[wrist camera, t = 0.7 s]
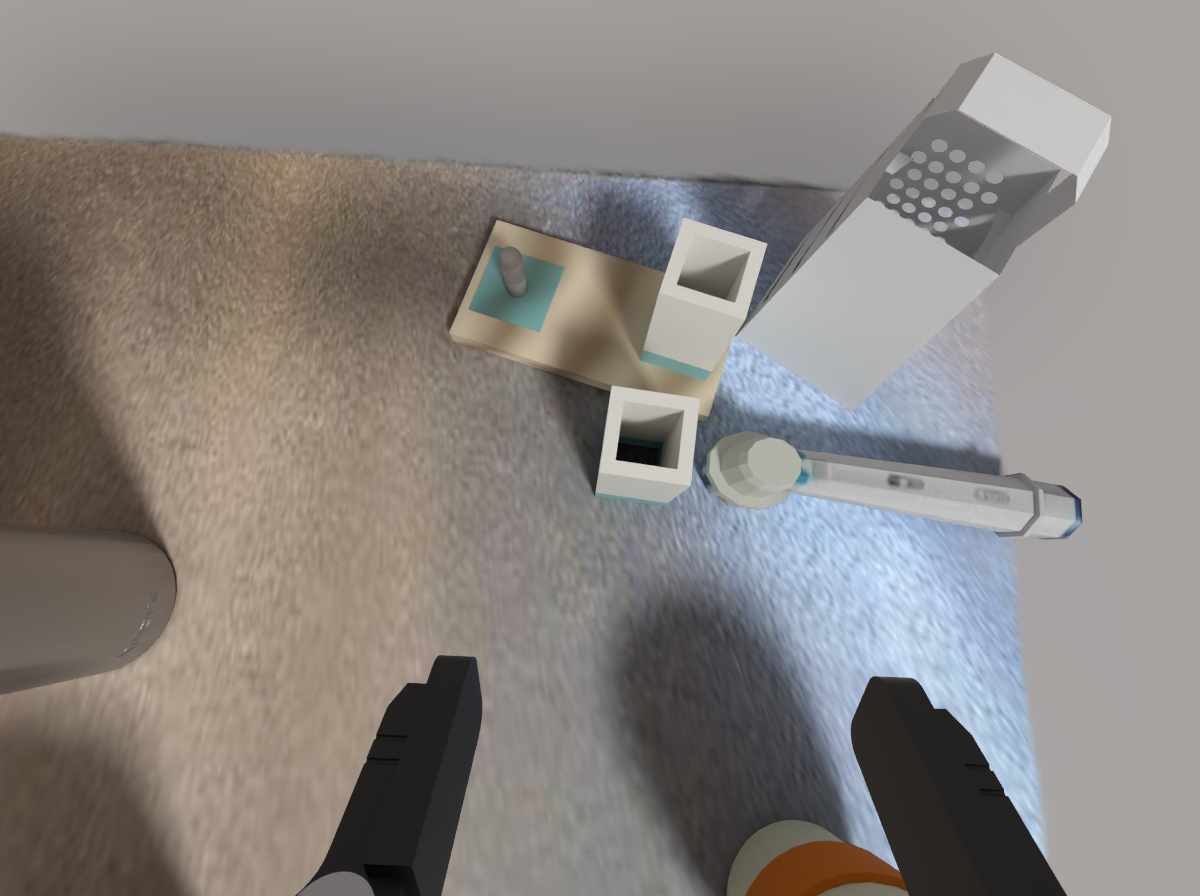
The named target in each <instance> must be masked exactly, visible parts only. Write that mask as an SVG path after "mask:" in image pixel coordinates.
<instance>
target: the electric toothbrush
mask: <svg viewBox="0 0 1200 896" xmlns="http://www.w3.org/2000/svg"><path fill="white" fill-rule="evenodd" d="M701 478H702V479H703V481H704V483H705V485H706V487H707V489H708V491H709V493H713V494H714V495H715V496H717V497H718V498H720V499H721V500H723V501H724V502H726V504H727V505H734V506H737V507H743V508H750V509H756V510H760V509H764V508H767V507H770V506H773V505H776V504H779V503H782V502H784V500H785V499H786V498H787V497H788V495H789V494H790V493H794V494H799V495H804V496H810V497H815V498H820V499H826V500H831V501H836V502H842V503H847V504H852V505H858V506H863V507H868V508H873V509H879V510H884V511H889V512H895V513H900V514H905V515H911V516H916V517H921V518H927V519H932V520H937V521H943V522H948V523H953V524H959V525H964V526H969V527H975V528H980V529H985V530H991V531H994V532H995V533H996V534H997V535H998V536H999V537H1001V538H1013V537H1033V538H1039V539H1046V540H1047V539H1067V538H1068V537H1069V536H1070V535H1071V534H1072V533H1073V532H1074V531H1075V530H1076V528H1077V527H1078V526H1079V525H1080V524H1081V523H1082V511H1081V499H1079V498H1078V497H1077V496H1076V495H1074V494H1073V493H1072V492H1070V491H1069V490H1068V489H1067V488H1066V487H1064V486H1060V485H1055V484H1049V483H1043V482H1037V481H1032V480H1031V479H1030V478H1028V477H1027V476H1026V475H1025V474H1022V473H1018V474H1012V475H1006V476H998V475H991V474H983V473H975V472H968V471H960V470H952V469H945V468H937V467H930V466H922V465H914V464H907V463H899V462H891V461H884V460H876V459H869V458H861V457H853V456H846V455H838V454H830V453H823V452H815V451H808V450H800V449H795V448H794V447H792V446H791V445H789V444H788V443H786V442H785V441H784V440H781V439H779V438H773V437H770V436H769V435H767V434H761V433H756V432H750V431H742V432H738V433H735V434H732V435H729V436H725V437H723V438H721V439H720V440H719V441H718V442H717V443H716V444H715V446H714V447H713V448H712V449H711V450H710V451H709V453H708V454H707V457H706V458H705V459H704V460H703V466H702V477H701Z"/></svg>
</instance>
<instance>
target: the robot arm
mask: <svg viewBox="0 0 1200 896" xmlns="http://www.w3.org/2000/svg"><path fill="white" fill-rule="evenodd" d="M175 595H176V588H175V577H174V573H173V569H172V566H171V564H170V562H169V560H168V559H167V557H166V555H165V554H164V552H163V551H162V550H161V549H160V548H159V547H158V546H157V545H156V544H154V543H153V542H151V541H150V540H148V539H146V538H145V537H142V536H139V535H136V534H133V533H127V532H117V531H105V530H93V529H80V528H71V527H58V526H45V525H32V524H19V523H7V522H0V695H4V694H9V693H13V692H18V691H22V690H27V689H32V688H36V687H41V686H46V685H51V684H55V683H60V682H64V681H69V680H73V679H78V678H83V677H87V676H92V675H96V674H101V673H105V672H108V671H112V670H115V669H118V668H121V667H123V666H125V665H126V664H128V663H130V662H132V661H134V660H136V659H137V658H138V657H139V656H141V655H142V654H143V653H144V652H146V651H147V650H148V649H149V648H150V647H151V646H152V645H153V643H154V642H155V641H156V640H157V639H158V638H159V636H160V635H161V633H162V632H163V630H164V628H165V627H166V625H167V623H168V621H169V618H170V616H171V613H172V610H173V607H174V601H175ZM481 719H482V697H481V690H480V682H479V674H478V667H477V660H476V658H475V657H466V656H444V655H439V656H438V657H437V658H436V660H435V662H434V664H433V667H432V670H431V672H430V675H429V678H428V681H427V684H420V683H407V685H406V686H405V687H404V688H403V689H402V690H401V692H400V693H399V694H398V695H397V696H396V697H395V699H394V700H393V701H392V702H391V703H390V704H389V706H388V707H387V710H386V712H385V714H384V717H383V719H382V722H381V724H380V727H379V729H378V732H377V734H376V739H375V740H374V741H373V744H372V746H371V749H370V751H369V754H368V756H367V761H366V764H365V763H364V766H363V768H362V771H361V773H360V776H359V778H358V780H357V783H356V785H355V788H354V790H353V793H352V795H351V798H350V800H349V802H348V805H347V807H346V810H345V812H344V815H343V817H342V820H341V822H340V824H339V827H338V829H337V832H336V834H335V837H334V839H333V842H332V844H331V846H330V849H329V851H328V854H327V856H326V858H325V860H324V862H323V863H322V865H321V867H320V868H319V870H318V872H317V873H316V874H315V876H314V877H313V878H312V879H311V881H310V882H309V883H308V884H307V885H306V886H305V887H304V888H303V889H302V890H301V891H300V892H299V893H298V894H297V895H296V896H441V894H442V890H443V885H444V881H445V877H446V873H447V868H448V864H449V860H450V856H451V851H452V847H453V843H454V839H455V834H456V830H457V826H458V822H459V818H460V813H461V809H462V805H463V801H464V796H465V792H466V788H467V784H468V779H469V775H470V771H471V767H472V763H473V758H474V754H475V750H476V746H477V741H478V737H479V732H480V727H481ZM851 739H852V745H853V750H854V753H855V756H856V759H857V761H858V764H859V766H860V769H861V772H862V774H863V777H864V779H865V782H866V785H867V787H868V790H869V792H870V795H871V798H872V800H873V803H874V805H875V808H876V811H877V813H878V816H879V819H880V821H881V824H882V826H883V829H884V832H885V834H886V837H887V839H888V842H889V845H890V847H891V850H892V852H893V855H894V858H895V860H896V863H897V866H898V868H899V871H900V873H901V876H902V879H903V881H904V884H905V886H906V889H907V892H908V894H909V896H1067V895H1066V893H1065V892H1064V890H1063V888H1062V887H1061V885H1060V883H1059V882H1058V880H1057V878H1056V877H1055V875H1054V873H1053V871H1052V870H1051V868H1050V866H1049V865H1048V863H1047V861H1046V860H1045V858H1044V856H1043V855H1042V853H1041V851H1040V850H1039V848H1038V846H1037V844H1036V843H1035V841H1034V839H1033V838H1032V836H1031V834H1030V833H1029V831H1028V829H1027V828H1026V826H1025V824H1024V823H1023V821H1022V819H1021V817H1020V816H1019V814H1018V812H1017V811H1016V809H1015V807H1014V806H1013V804H1012V802H1011V801H1010V799H1009V797H1008V796H1005V794H1004V789H1003V787H1002V785H1001V784H1000V782H999V780H998V779H997V777H996V775H995V774H994V772H993V771H991V770H990V768H989V763H988V762H987V760H986V758H985V757H984V755H983V753H982V752H981V750H980V748H979V746H978V745H977V743H976V741H975V740H974V738H973V736H972V735H971V734H970V733H969V732H968V731H967V730H966V729H965V728H964V727H963V726H962V725H961V724H960V723H959V722H958V721H957V720H956V719H955V718H954V717H953V716H952V715H951V714H950V713H949V712H948V711H947V710H946V709H934V707H933V706H932V704H931V702H930V700H929V698H928V697H927V695H926V693H925V691H924V689H923V688H922V686H921V685H920V684H919V682H917V681H916V680H915V679H913V678H899V677H877V676H875V677H872V678H871V679H870V680H869V682H868V685H867V687H866V689H865V692H864V694H863V696H862V699H861V701H860V703H859V706H858V708H857V710H856V713H855V715H854V717H853V720H852V724H851Z"/></svg>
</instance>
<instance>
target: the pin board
mask: <svg viewBox="0 0 1200 896" xmlns="http://www.w3.org/2000/svg"><path fill="white" fill-rule="evenodd" d="M664 276H665V272H662V271H659V270H656V269H652V268H649V267H646V266H643V265H640V264H637V263H633V262H630V261H627V260H624V259H621V258H617V257H614V256H611V255H608V254H605V253H601V252H598V251H595V250H592V249H589V248H585V247H582V246H579V245H576V244H573V243H569V242H566V241H563V240H560V239H557V238H553V237H550V236H547V235H544V234H541V233H538V232H534V231H531V230H528V229H525V228H522V227H518V226H515V225H512V224H509V223H506V222H502V221H499V220H497V221H496V223H495V226H494V228H493V231H492V233H491V235H490V238H489V240H488V242H487V245H486V247H485V249H484V252H483V254H482V256H481V259H480V261H479V263H478V266H477V268H476V271H475V273H474V275H473V278H472V280H471V282H470V285H469V287H468V289H467V292H466V294H465V296H464V299H463V301H462V304H461V306H460V308H459V311H458V313H457V315H456V318H455V320H454V322H453V325H452V327H451V329H450V332H449V334H450V335H451V337H452V339H453V341H455V342H458V343H461V344H464V345H467V346H470V347H473V348H476V349H479V350H483V351H486V352H489V353H492V354H495V355H498V356H501V357H504V358H507V359H510V360H513V361H517V362H520V363H523V364H526V365H529V366H532V367H535V368H538V369H541V370H544V371H547V372H551V373H554V374H557V375H560V376H563V377H566V378H569V379H572V380H575V381H578V382H581V383H585V384H588V385H591V386H594V387H597V388H600V389H603V390H606V391H609V392H611V387H612V386H619V387H625V388H632V389H639V390H646V391H653V392H659V393H666V394H673V395H680V396H686V397H693V398H700V402H699V412H698V420H699V421H702V422H705V421H706V419H707V418H708V417H709V414H710V411H711V408H712V404H713V401H714V397H715V394H716V391H717V387H718V384H719V380H720V377H721V374H722V370H723V367H724V363H725V360H726V357H727V353H728V350H729V346H730V344H729V346H728V347H727V349H726V350H725V352H724V353H723V355H722V356H721V358H720V359H719V361H718V362H717V364H716V365H715V367H714V368H713V370H712V371H711V373H710V374H709V376H708V377H707V379H706V380H705V381H702V380H699V379H696V378H693V377H690V376H687V375H683V374H680V373H677V372H674V371H671V370H668V369H665V368H662V367H658V366H655V365H652V364H649V363H646V362H643V361H640V359H641V355H642V352H643V348H644V344H645V341H646V337H647V334H648V330H649V326H650V323H651V319H652V315H653V312H654V308H655V305H656V301H657V297H658V294H659V291H660V288H661V285H662V282H663V279H664ZM730 343H731V342H730Z"/></svg>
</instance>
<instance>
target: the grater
mask: <svg viewBox="0 0 1200 896" xmlns="http://www.w3.org/2000/svg"><path fill="white" fill-rule="evenodd" d="M958 109H959V110H961V111H962V112H964V113H966V114H968V115H970V116H971V117H973V118H975V119H977V120H978V121H980V122H982V123H984V124H986V125H987V126H990V127H991V128H993V129H995V130H996V131H998V132H1000V133H1002V134H1003V135H1005V136H1007V137H1009V138H1010V139H1012V140H1014V141H1016V142H1018V143H1019V144H1021V145H1023V146H1025V147H1026V148H1028V149H1030V150H1032V151H1033V152H1035V153H1037V154H1039V155H1041V156H1042V157H1044V158H1046V159H1048V160H1050V161H1051V162H1053V163H1055V164H1057V165H1058V166H1060V167H1062V168H1064V169H1065V170H1067V171H1069V172H1071V173H1072V174H1071V175H1070V176H1069V177H1068V178H1066V179H1065V180H1064V181H1063V182H1062V183H1060V184H1059V185H1058V186H1056V187H1055V188H1054V189H1053V190H1051V191H1050V192H1049V193H1048V194H1047V192H1048V191H1049V189H1050V187H1051V185H1052V184H1053V182H1054V180H1055V178H1056V177H1057V175H1058V173H1059V171H1060V169H1059V168H1057V167H1055V166H1053V165H1052V164H1050V163H1048V162H1047V161H1045V160H1043V159H1041V158H1039V157H1037V156H1036V155H1034V154H1032V153H1031V152H1029V151H1027V150H1025V149H1023V148H1022V147H1020V146H1018V145H1016V144H1015V143H1013V142H1011V141H1009V140H1008V139H1005V138H1004V137H1002V136H1000V135H998V134H997V133H995V132H993V131H992V130H990V129H988V128H986V127H985V126H983V125H981V124H979V123H977V122H976V121H974V120H972V119H970V118H968V117H967V116H965V115H963V114H961V113H960V112H958V111H956V110H958ZM1110 124H1111V116H1110V115H1108V114H1106V113H1104V112H1102V111H1101V110H1099V109H1097V108H1095V107H1093V106H1092V105H1090V104H1088V103H1086V102H1084V101H1082V100H1080V99H1079V98H1077V97H1075V96H1073V95H1071V94H1070V93H1068V92H1066V91H1064V90H1062V89H1061V88H1059V87H1057V86H1055V85H1053V84H1051V83H1049V82H1048V81H1046V80H1044V79H1042V78H1040V77H1038V76H1037V75H1035V74H1033V73H1031V72H1029V71H1028V70H1026V69H1024V68H1022V67H1020V66H1019V65H1017V64H1015V63H1013V62H1011V61H1009V60H1008V59H1006V58H1004V57H1002V56H1000V55H998V54H997V53H993V54H990V55H987V56H984V57H981V58H977V59H974V60H972V61H969V62H966V63H962V64H961V65H960V66H959V67H958V69H957V70H956V71H955V73H954V74H953V75H952V77H951V78H950V79H949V81H948V82H947V84H946V85H945V86H944V87H943V89H942V90H941V91H940V93H939V94H938V95H937V97H936V98H933V99H932V100H931V101H930V102H929V103H928V104H927V106H926V107H925V108H924V109H923V110H922V111H921V112H920V113H919V114H918V115H917V116H916V117H915V118H914V120H913V121H912V122H911V123H910V124H909V125H908V126H907V127H906V128H905V129H904V130H903V131H902V133H901V134H900V135H899V136H898V137H897V138H896V139H895V140H894V141H893V142H892V143H891V144H890V146H889V147H888V148H887V149H886V150H885V151H884V152H883V153H882V154H881V155H880V156H879V157H878V159H877V160H876V161H875V162H874V163H873V164H872V165H871V166H870V167H869V168H868V169H867V170H866V172H865V173H864V174H863V175H862V176H861V177H860V178H859V179H858V180H857V181H856V182H855V183H854V184H853V186H852V187H851V188H850V189H849V190H848V191H847V192H846V193H845V194H844V195H843V196H842V197H841V198H840V200H839V201H838V202H837V203H836V204H835V205H834V206H833V207H832V208H831V209H830V210H829V211H828V213H827V214H826V215H825V216H824V217H823V218H822V219H821V220H820V221H819V222H818V223H817V224H816V226H815V227H814V228H813V229H812V230H811V231H810V232H809V233H808V234H807V235H806V236H805V237H804V238H803V240H802V241H801V242H800V244H799V245H798V247H797V248H796V250H795V251H794V253H793V254H792V256H791V257H790V258H789V260H788V261H787V263H786V264H785V266H784V267H783V269H782V270H781V272H780V273H779V274H778V276H777V277H776V279H775V280H774V282H773V283H772V285H771V286H770V288H769V289H768V290H767V292H766V293H765V295H764V296H763V298H762V299H761V301H760V302H759V304H758V305H757V306H756V308H755V309H754V311H753V312H752V314H751V315H750V317H749V318H748V320H747V321H746V322H745V324H744V325H743V327H742V328H741V330H740V331H739V333H738V334H737V336H736V337H737V338H738V339H740V340H742V341H743V342H745V343H746V344H748V345H749V346H751V347H752V348H754V349H756V350H757V351H759V352H760V353H762V354H763V355H765V356H767V357H768V358H770V359H771V360H773V361H774V362H776V363H777V364H779V365H781V366H782V367H784V368H785V369H787V370H788V371H790V372H792V373H793V374H795V375H796V376H798V377H799V378H801V379H802V380H804V381H806V382H807V383H809V384H810V385H812V386H813V387H815V388H817V389H818V390H820V391H821V392H823V393H824V394H826V395H827V396H829V397H831V398H832V399H834V400H835V401H837V402H838V403H840V404H842V405H843V406H845V407H846V408H848V409H849V410H851V411H853V410H855V409H856V408H857V407H858V406H859V405H860V404H861V403H862V402H863V401H864V400H865V399H866V398H867V397H869V396H870V395H871V394H872V393H873V392H874V391H875V390H876V389H877V388H878V387H879V386H880V385H882V384H883V383H884V382H885V381H886V380H887V379H888V378H889V377H890V376H891V375H892V374H893V373H895V372H896V371H897V370H898V369H899V368H900V367H901V366H902V365H903V364H904V363H905V362H906V361H907V360H909V359H910V358H911V357H912V356H913V355H914V354H915V353H916V352H917V351H918V350H919V349H920V348H922V347H923V346H924V345H925V344H926V343H927V342H928V341H929V340H930V339H931V338H932V337H933V336H935V335H936V334H937V333H938V332H939V331H940V330H941V329H942V328H943V327H944V326H945V325H946V324H948V323H949V322H950V321H951V320H952V319H953V318H954V317H955V316H956V315H957V314H958V313H959V312H960V311H962V310H963V309H964V308H965V307H966V306H967V305H968V304H969V303H970V302H971V301H972V300H973V299H975V298H976V297H977V296H978V295H979V294H980V293H981V292H982V291H983V290H984V289H985V288H986V287H987V286H989V285H990V284H991V283H992V282H993V281H994V280H995V279H996V278H997V277H998V276H999V275H1000V274H1001V272H1002V270H1003V269H1004V267H1005V265H1006V263H1007V262H1008V260H1009V258H1010V257H1011V255H1012V253H1013V251H1014V250H1015V248H1016V247H1017V246H1018V245H1020V244H1021V243H1023V242H1024V241H1025V240H1027V239H1028V238H1029V237H1031V236H1032V235H1033V234H1035V233H1036V232H1037V231H1039V230H1040V229H1041V228H1043V227H1044V226H1046V225H1047V224H1048V223H1050V222H1051V221H1052V220H1054V219H1055V218H1056V217H1058V216H1059V215H1060V214H1062V213H1063V212H1065V211H1066V210H1067V209H1068V208H1070V207H1071V206H1073V205H1074V204H1075V203H1076V201H1077V200H1078V198H1079V196H1080V194H1081V192H1082V190H1083V189H1084V187H1085V185H1086V183H1087V182H1088V180H1089V178H1090V176H1091V175H1092V172H1093V171H1094V169H1095V167H1096V166H1097V164H1098V162H1099V160H1100V158H1101V156H1102V155H1103V153H1104V151H1105V149H1106V148H1107V146H1108V140H1109V132H1110ZM936 139H942V140H944V141H945V142H947V145H948V147H947V150H946V151H944V152H941V153H938V152H935V151H934V150H933V149H932V148H931V144H932V142H933V141H934V140H936ZM958 149H959V150H962V151H963V152H964V153H965V154H966V158H965V160H964V161H962V162H960V163H955V162H952V161H951V160H950V159H949V153H950V152H951V151H953V150H958ZM915 151H921V152H924V153H925V154H926V157H927V159H926V161H925V162H923V163H920V164H918V163H915V162H914V161H913V159H912V158H911V155H912V153H914V152H915ZM976 160H978V161H981V162H983V163H984V164H985V169H984V171H983V172H981V173H977V174H975V173H971V172H970V171H969V170H968V164H969V163H970V162H971V161H976ZM932 161H938V162H941V163H942V164H943V165H944V170H943V171H942V172H941V173H936V174H935V173H932V172H931V171H930V170H929V169H928V165H929V163H931V162H932ZM910 169H918V170H920V171H921V173H922V177H921V179H919V180H911V179H910V178H909V177H908V176H907V172H908V171H909V170H910ZM950 171H956V172H959V174H961V177H962V179H961V180H960V182H958V183H950V182H948V181H947V180H946V178H945V176H946V174H947V173H948V172H950ZM991 171H998V172H1001V173H1002V174H1003V176H1004V179H1003V181H1002V182H1000V183H998V184H992V183H989V182H988V181H987V180H986V175H987V173H989V172H991ZM893 178H898V179H901V180H902V181H903V183H904V186H903V188H901V189H894V188H892V187H891V186H890V180H891V179H893ZM928 178H933V179H936V180H937V181H938V183H939V186H938V188H937V189H935V190H929V189H927V188H926V187H924V184H923V183H924V181H925V180H926V179H928ZM967 182H975V183H977V184H978V185H979V186H980V190H979V191H978V192H977V193H975V194H970V193H967V192H965V191H964V189H963V186H964V184H965V183H967ZM912 187H913V188H916V189H917V190H918V191H919V192H920V195H919V197H917V198H913V199H912V198H909V197H908V196H907V195H906V193H905V192H906V189H908V188H912ZM948 188H949V189H952V190H954V191H955V192H956V197H955V198H954V199H952V200H946V199H944V198H943V197H942V196H941V191H942V190H944V189H948ZM985 192H992V193H995V194H996V195H997V197H998V200H997V201H996V202H995V203H993V204H987V203H984V202H983V201H981V195H982V194H983V193H985ZM889 194H896V195H898V196H899V197H900V202H899V203H898V204H892V203H889V202H888V201H887V195H889ZM925 197H931V198H933V199H934V200H935V201H936V205H935V206H934V207H932V208H927V207H924V206H923V205H922V203H921V201H922V199H923V198H925ZM963 198H967V199H970V200H971V201H972V202H973V207H972V208H971V209H969V210H964V209H961V208H960V207H959V206H958V204H957V203H958V201H959V200H960V199H963ZM875 201H881V202H883V203H884V205H885V207H884V206H882V205H880V204H879V203H877V202H875ZM904 203H911V204H913V205H914V206H915V208H916V210H915V212H913V213H907V212H905V211H904V210H903V209H902V205H903V204H904ZM941 207H948V208H950V209H951V210H952V211H953V214H952V216H950V217H947V218H944V217H942V216H940V215H939V214H938V210H939V208H941ZM890 209H894V210H896V211H898V212H899V214H900V216H899V215H897V214H896V213H894V212H892V211H891V210H890ZM921 212H926V213H929V214H930V215H931V216H932V220H931V221H930V222H922V221H920V220H919V219H918V215H919V213H921ZM959 216H963V217H966V218H967V219H968V220H969V224H968V226H966V227H959V226H957V225H956V224H955V223H954V219H955V218H956V217H959ZM905 218H909V219H912V220H913V221H914V223H915V225H914V224H913V223H911V222H909V221H907V220H906V219H905ZM940 221H941V222H944V223H945V224H947V227H948V228H947V230H946V231H944V232H940V231H937V230H935V229H934V227H933V225H934V223H935V222H940ZM921 228H927V229H928V230H929V231H930V233H931V234H929V233H928V232H926V231H924V230H923V229H921ZM936 237H942V238H943V239H945V241H946V243H945V242H943V241H941V240H940V239H938V238H936ZM804 242H805V243H804ZM803 243H804V245H803ZM802 245H803V246H802ZM810 245H811V247H810V248H809V246H810ZM801 246H802V247H801ZM800 247H801V249H800ZM808 248H809V250H808V251H807V249H808ZM799 249H800V250H799ZM798 250H799V252H798ZM806 251H807V253H806V254H805V256H804V257H803V259H802V260H801V262H800V264H799V266H798V268H797V269H796V270H795V271H794V272H793V270H794V269H795V267H796V265H797V264H798V262H799V261H800V259H801V258H802V256H803V255H804V253H805V252H806ZM797 252H798V253H797ZM796 253H797V255H796ZM795 255H796V256H795ZM794 256H795V258H794ZM793 258H794V259H793ZM792 259H793V261H792V262H791V260H792ZM790 262H791V264H790V265H789V263H790ZM788 265H789V266H788ZM787 266H788V268H787ZM786 268H787V269H786ZM785 269H786V271H785ZM784 271H785V272H784ZM783 272H784V274H783ZM792 272H793V273H792ZM782 274H783V275H782ZM781 275H782V277H781V278H780V276H781ZM779 278H780V280H779V281H778V279H779ZM777 281H778V283H777V284H776V282H777ZM775 284H776V286H775V287H774V285H775ZM773 287H774V288H773ZM772 288H773V290H772ZM771 290H772V291H771ZM770 291H771V293H770ZM769 293H770V295H769V297H768V299H767V300H766V301H765V302H764V300H765V299H766V297H767V295H768V294H769ZM763 302H764V303H763Z"/></svg>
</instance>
